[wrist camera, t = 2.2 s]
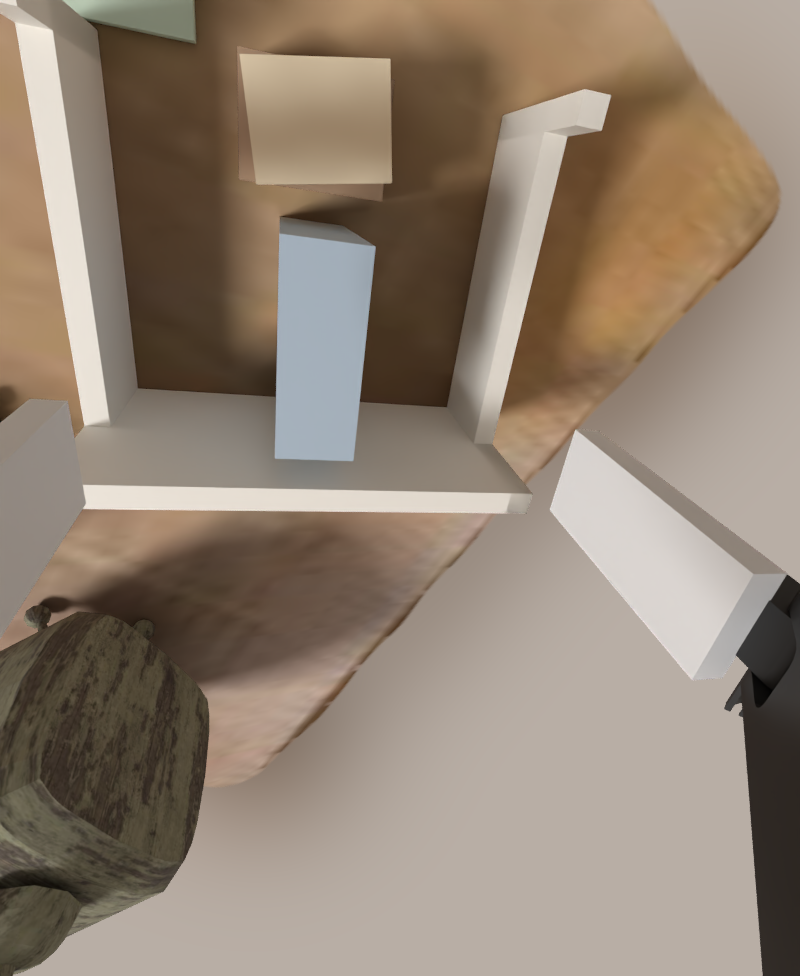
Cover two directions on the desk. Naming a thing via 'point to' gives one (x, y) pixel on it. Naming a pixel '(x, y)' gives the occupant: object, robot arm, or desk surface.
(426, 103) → the desk surface
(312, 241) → the light blue upright slab
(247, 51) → the offcut low
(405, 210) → the desk surface
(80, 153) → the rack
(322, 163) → the offcut top
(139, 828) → the tabletop clock
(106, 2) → the mat
